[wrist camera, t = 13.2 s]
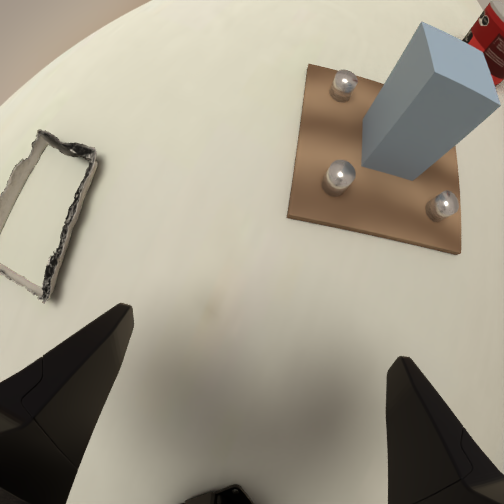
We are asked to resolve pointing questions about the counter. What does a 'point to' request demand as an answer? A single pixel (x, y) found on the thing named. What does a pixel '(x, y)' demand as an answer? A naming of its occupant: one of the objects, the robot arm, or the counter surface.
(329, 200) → the peg stand
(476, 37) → the canned food
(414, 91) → the slate blue block
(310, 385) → the counter surface
